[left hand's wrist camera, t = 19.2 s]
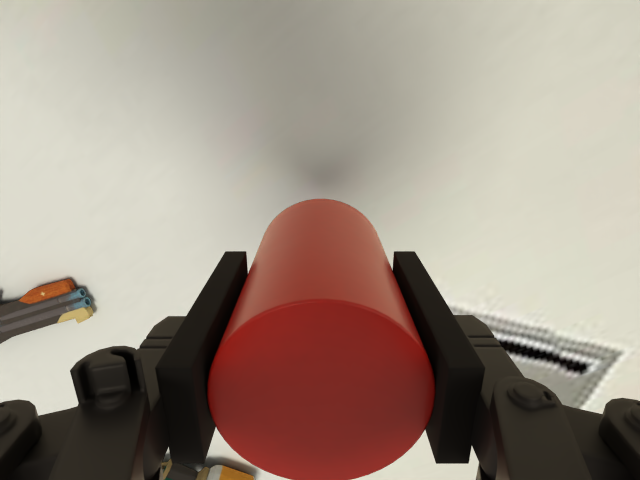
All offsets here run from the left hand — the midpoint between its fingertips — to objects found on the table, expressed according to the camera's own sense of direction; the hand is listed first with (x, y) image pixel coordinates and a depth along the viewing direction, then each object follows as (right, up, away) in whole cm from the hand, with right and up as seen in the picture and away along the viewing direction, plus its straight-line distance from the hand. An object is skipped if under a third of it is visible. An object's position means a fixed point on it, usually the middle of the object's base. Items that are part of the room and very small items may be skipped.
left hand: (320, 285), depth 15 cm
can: (0, +1, +3) cm, 3 cm away
